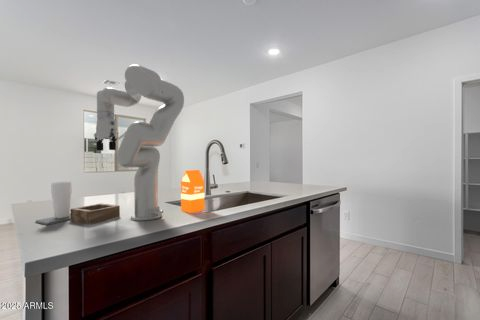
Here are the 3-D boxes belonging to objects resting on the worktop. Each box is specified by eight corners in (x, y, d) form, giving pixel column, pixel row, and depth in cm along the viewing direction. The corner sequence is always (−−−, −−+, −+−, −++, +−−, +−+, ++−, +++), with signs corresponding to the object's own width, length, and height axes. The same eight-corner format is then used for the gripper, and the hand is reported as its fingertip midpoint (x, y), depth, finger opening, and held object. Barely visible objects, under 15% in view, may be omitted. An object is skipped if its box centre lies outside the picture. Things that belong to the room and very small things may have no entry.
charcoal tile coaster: (84, 216, 103) (84, 215, 103) (47, 225, 91) (47, 223, 91) (72, 214, 107) (72, 213, 107) (35, 222, 94) (35, 220, 94)
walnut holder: (119, 216, 103) (119, 205, 103) (89, 224, 91) (89, 211, 91) (101, 214, 108) (100, 203, 108) (70, 220, 97) (70, 208, 97)
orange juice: (180, 210, 115) (180, 170, 115) (195, 207, 121) (194, 169, 121) (190, 212, 110) (190, 170, 109) (204, 209, 116) (204, 170, 116)
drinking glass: (60, 219, 95) (60, 183, 95) (47, 219, 97) (47, 183, 96) (75, 215, 102) (75, 181, 101) (63, 215, 103) (62, 181, 103)
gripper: (124, 116, 116) (124, 150, 116) (102, 118, 124) (102, 150, 124) (110, 113, 109) (110, 149, 109) (87, 116, 117) (87, 150, 117)
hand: (106, 150), depth 116 cm, fingers open, 9 cm apart
